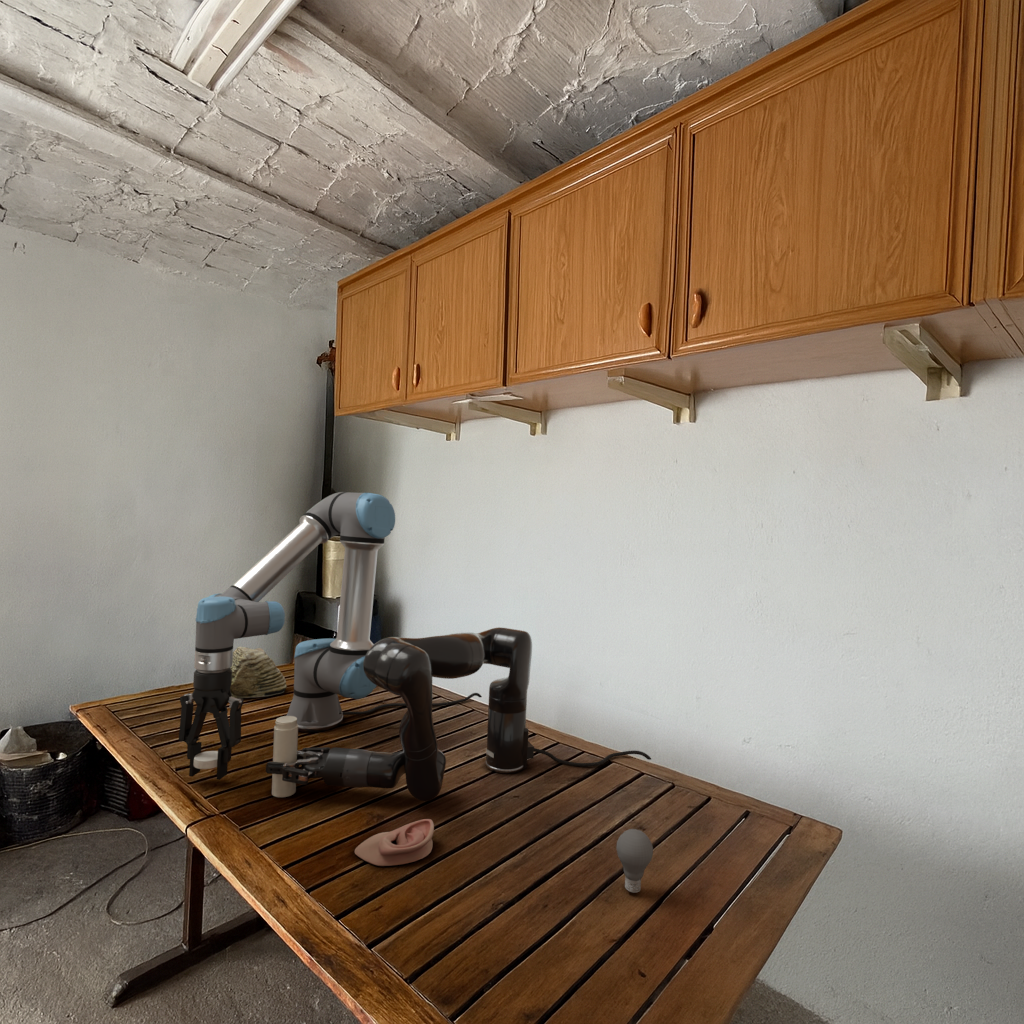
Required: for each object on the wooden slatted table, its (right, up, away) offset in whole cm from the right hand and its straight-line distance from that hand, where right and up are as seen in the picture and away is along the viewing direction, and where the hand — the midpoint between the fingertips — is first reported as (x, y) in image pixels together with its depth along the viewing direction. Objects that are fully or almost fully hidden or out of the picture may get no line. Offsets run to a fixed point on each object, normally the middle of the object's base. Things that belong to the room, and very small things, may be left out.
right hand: (272, 762), depth 135 cm
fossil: (-29, -4, +63) cm, 69 cm away
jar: (+2, -6, 0) cm, 7 cm away
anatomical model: (+30, -8, -20) cm, 37 cm away
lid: (-15, 0, +2) cm, 15 cm away
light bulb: (+71, -10, -30) cm, 78 cm away
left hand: (-15, -4, +2) cm, 16 cm away
